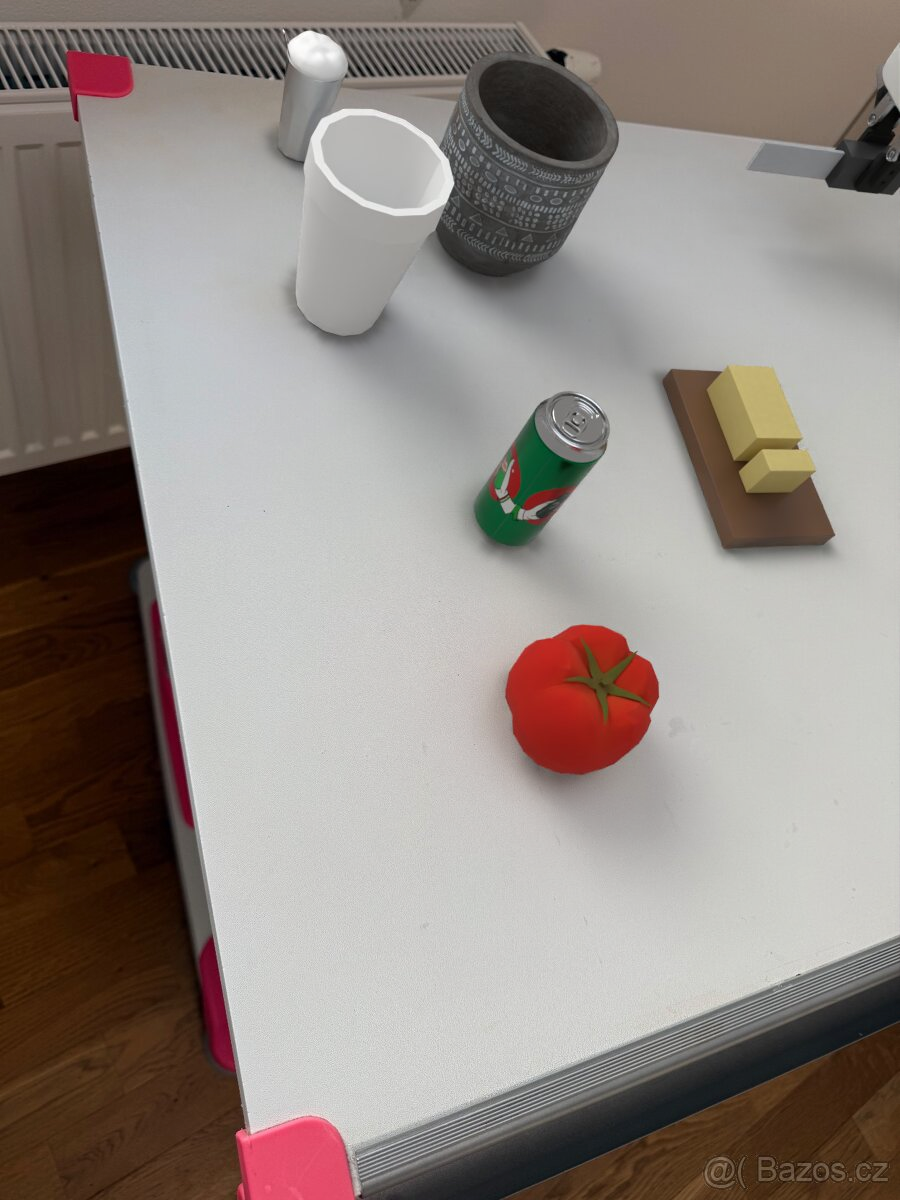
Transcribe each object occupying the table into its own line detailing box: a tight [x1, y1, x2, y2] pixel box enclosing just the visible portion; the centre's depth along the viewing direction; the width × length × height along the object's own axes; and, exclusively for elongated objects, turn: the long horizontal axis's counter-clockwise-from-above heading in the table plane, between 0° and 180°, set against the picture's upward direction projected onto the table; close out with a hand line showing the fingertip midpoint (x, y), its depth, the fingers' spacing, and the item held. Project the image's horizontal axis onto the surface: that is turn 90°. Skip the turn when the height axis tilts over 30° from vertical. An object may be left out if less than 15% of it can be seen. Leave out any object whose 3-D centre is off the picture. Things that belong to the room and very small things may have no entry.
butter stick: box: [707, 364, 804, 461], centre depth 78 cm, size 4×7×3 cm, turn 13°
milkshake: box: [277, 29, 349, 162], centre depth 74 cm, size 5×5×10 cm
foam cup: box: [295, 108, 454, 337], centre depth 67 cm, size 10×9×13 cm
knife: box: [745, 138, 900, 196], centre depth 90 cm, size 17×2×4 cm, turn 103°
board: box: [661, 368, 836, 549], centre depth 79 cm, size 10×16×2 cm, turn 13°
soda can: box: [473, 390, 611, 547], centre depth 64 cm, size 5×5×12 cm
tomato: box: [504, 623, 660, 776], centre depth 60 cm, size 9×9×8 cm
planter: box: [435, 50, 620, 278], centre depth 76 cm, size 12×12×13 cm
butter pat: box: [739, 449, 817, 493], centre depth 76 cm, size 4×2×3 cm, turn 103°
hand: (861, 177), depth 93 cm, fingers closed on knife, 2 cm apart
